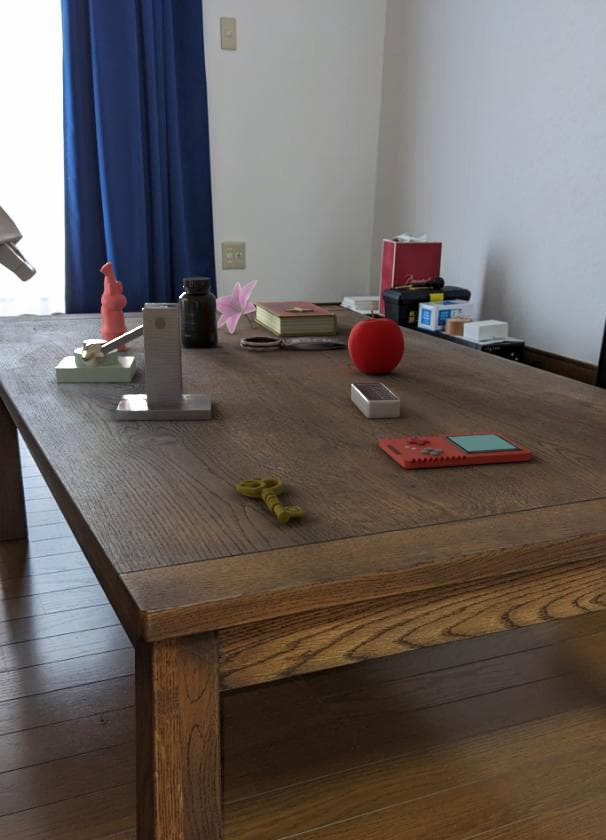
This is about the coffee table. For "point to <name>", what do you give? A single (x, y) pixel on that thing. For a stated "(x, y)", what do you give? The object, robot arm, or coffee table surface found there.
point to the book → (295, 318)
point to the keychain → (290, 343)
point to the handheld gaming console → (454, 450)
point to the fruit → (376, 345)
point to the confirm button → (101, 342)
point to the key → (269, 496)
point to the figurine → (112, 307)
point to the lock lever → (106, 348)
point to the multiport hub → (375, 400)
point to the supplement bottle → (198, 314)
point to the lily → (235, 305)
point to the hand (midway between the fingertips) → (31, 277)
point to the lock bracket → (163, 372)
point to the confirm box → (96, 369)
